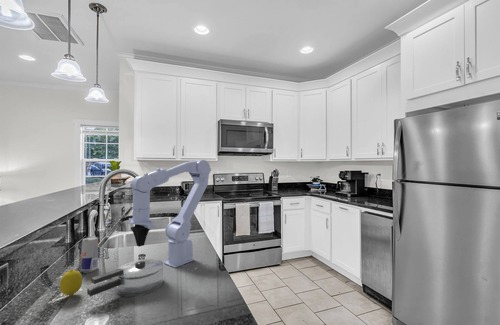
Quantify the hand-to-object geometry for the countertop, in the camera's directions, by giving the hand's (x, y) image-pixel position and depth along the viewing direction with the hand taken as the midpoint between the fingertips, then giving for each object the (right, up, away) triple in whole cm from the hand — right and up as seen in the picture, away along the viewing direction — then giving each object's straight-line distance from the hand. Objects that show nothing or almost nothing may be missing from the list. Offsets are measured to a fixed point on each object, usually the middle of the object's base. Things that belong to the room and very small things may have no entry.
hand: (140, 245), depth 88 cm
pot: (+1, -10, -12) cm, 16 cm away
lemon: (-14, -11, -15) cm, 23 cm away
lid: (+2, -5, -11) cm, 12 cm away
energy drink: (-21, -11, +4) cm, 24 cm away
